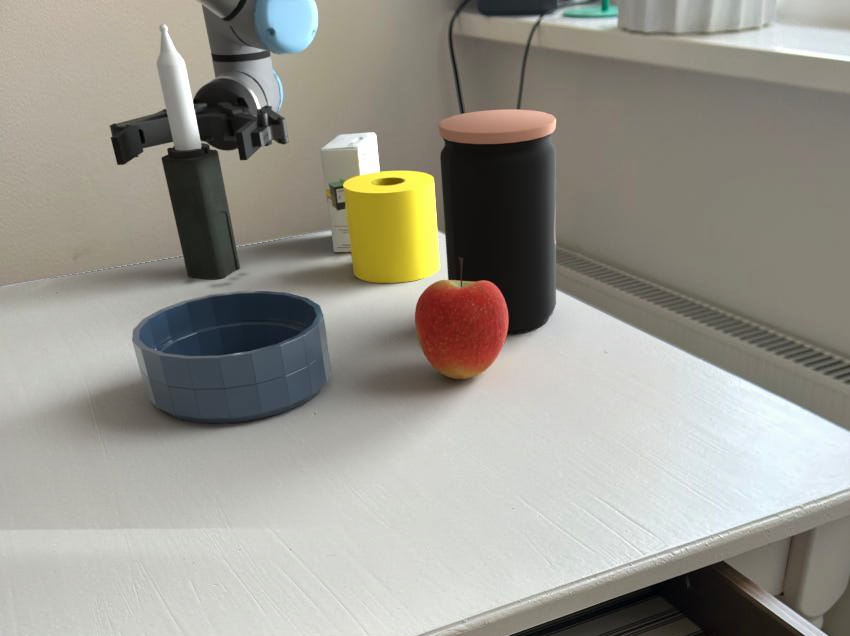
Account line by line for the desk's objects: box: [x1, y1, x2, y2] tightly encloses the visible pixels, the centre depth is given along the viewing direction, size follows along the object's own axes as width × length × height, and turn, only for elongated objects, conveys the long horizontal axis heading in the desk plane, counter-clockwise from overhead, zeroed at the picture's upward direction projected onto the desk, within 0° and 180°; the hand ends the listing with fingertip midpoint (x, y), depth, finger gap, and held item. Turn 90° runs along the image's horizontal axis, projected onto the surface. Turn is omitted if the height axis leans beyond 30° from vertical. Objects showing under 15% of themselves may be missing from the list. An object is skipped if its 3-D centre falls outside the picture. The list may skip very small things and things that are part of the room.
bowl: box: [131, 290, 333, 424], centre depth 86 cm, size 16×16×6 cm
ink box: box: [320, 131, 381, 253], centre depth 119 cm, size 8×5×12 cm, turn 171°
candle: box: [156, 23, 241, 280], centre depth 108 cm, size 5×5×25 cm
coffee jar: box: [437, 108, 557, 335], centre depth 94 cm, size 11×11×18 cm
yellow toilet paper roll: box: [343, 170, 441, 284], centre depth 110 cm, size 10×10×9 cm
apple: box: [414, 257, 508, 380], centre depth 85 cm, size 8×8×10 cm
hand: (178, 148), depth 105 cm, fingers open, 13 cm apart
